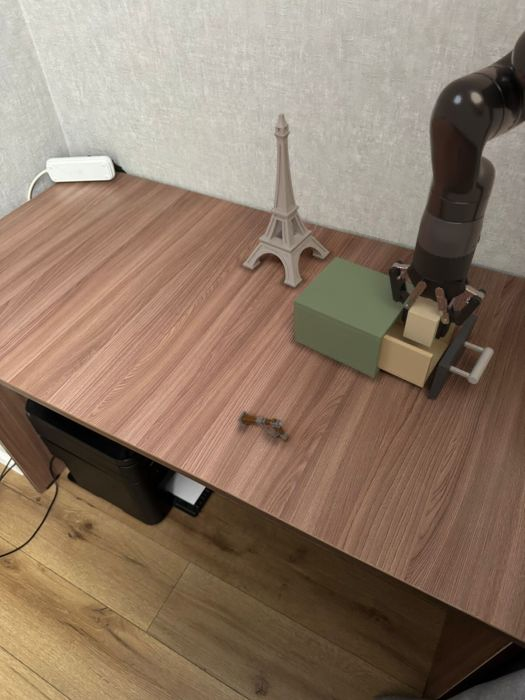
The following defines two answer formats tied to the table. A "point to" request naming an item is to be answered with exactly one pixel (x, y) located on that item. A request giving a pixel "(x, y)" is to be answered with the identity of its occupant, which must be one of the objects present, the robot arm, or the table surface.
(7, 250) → the table surface
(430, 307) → the block
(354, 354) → the cabinet
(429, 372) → the drawer
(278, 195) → the eiffel tower
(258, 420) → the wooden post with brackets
